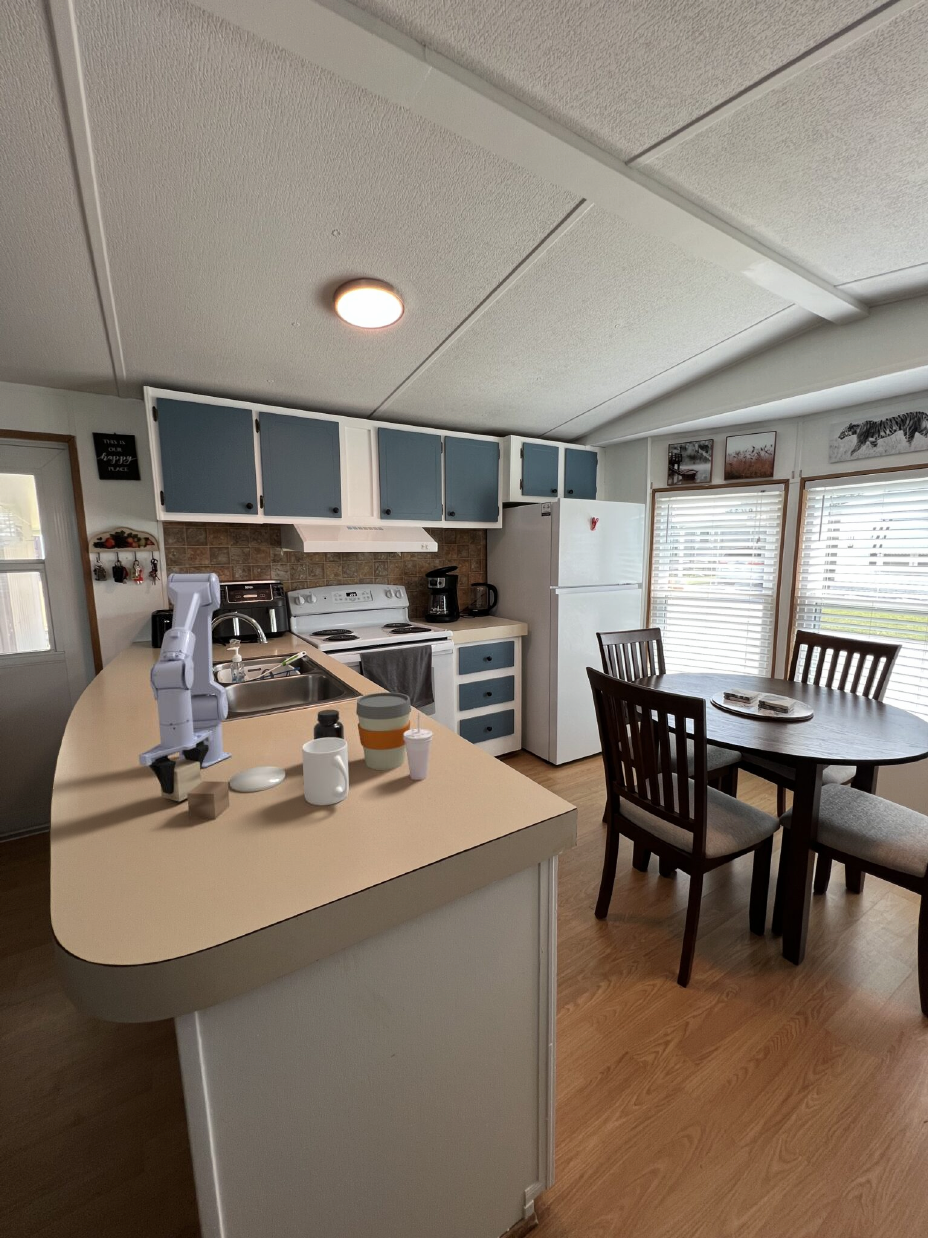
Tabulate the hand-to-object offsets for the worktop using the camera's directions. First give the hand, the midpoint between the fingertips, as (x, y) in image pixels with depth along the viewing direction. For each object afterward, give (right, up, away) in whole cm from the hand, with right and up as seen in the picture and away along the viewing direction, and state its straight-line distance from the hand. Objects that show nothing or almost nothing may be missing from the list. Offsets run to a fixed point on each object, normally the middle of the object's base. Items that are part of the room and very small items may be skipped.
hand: (181, 786), depth 102 cm
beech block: (0, -2, 0) cm, 2 cm away
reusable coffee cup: (+38, 0, +17) cm, 42 cm away
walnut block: (+8, -3, -6) cm, 11 cm away
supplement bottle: (+25, 0, +18) cm, 31 cm away
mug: (+30, -2, -1) cm, 30 cm away
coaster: (+12, -1, +8) cm, 15 cm away
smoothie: (+46, -1, +10) cm, 48 cm away
